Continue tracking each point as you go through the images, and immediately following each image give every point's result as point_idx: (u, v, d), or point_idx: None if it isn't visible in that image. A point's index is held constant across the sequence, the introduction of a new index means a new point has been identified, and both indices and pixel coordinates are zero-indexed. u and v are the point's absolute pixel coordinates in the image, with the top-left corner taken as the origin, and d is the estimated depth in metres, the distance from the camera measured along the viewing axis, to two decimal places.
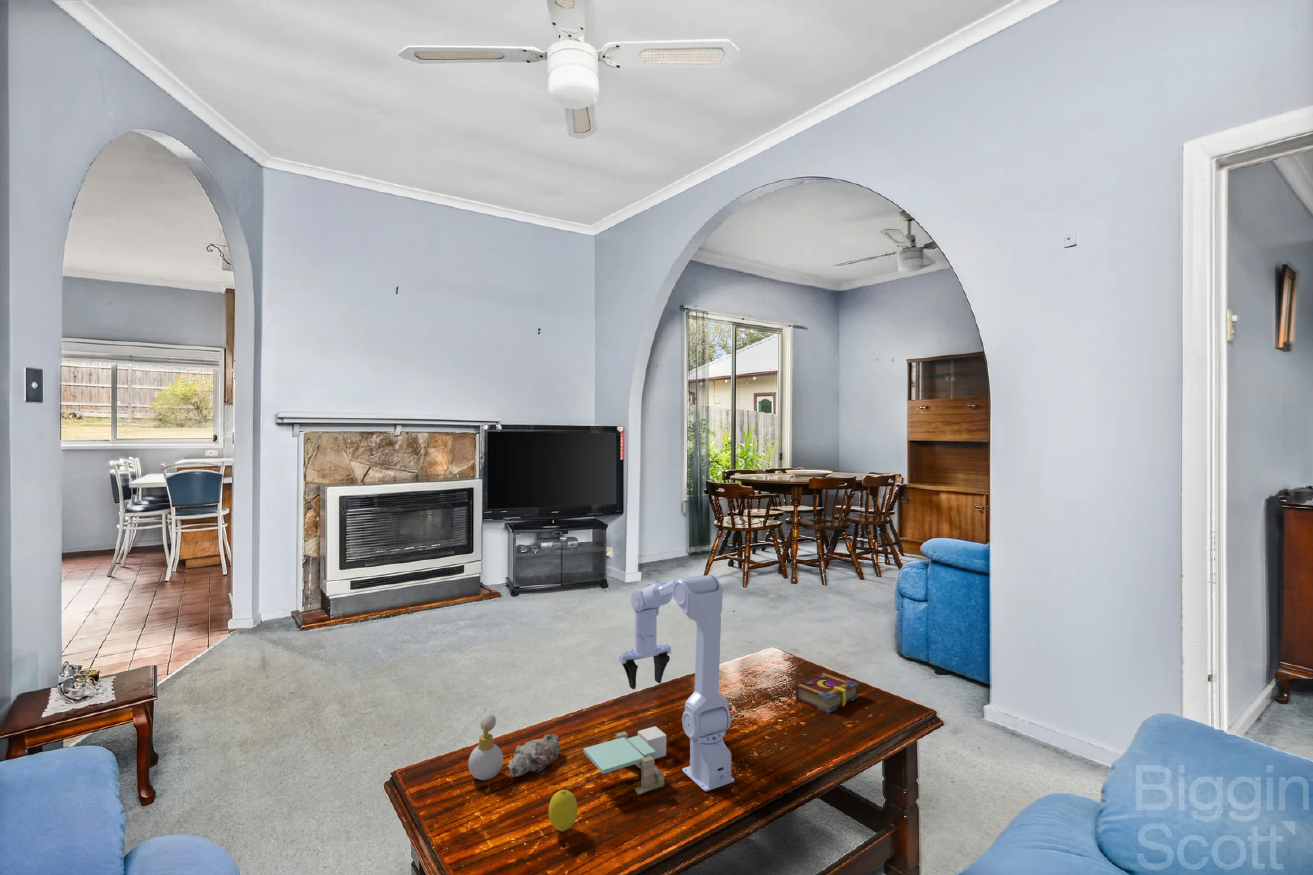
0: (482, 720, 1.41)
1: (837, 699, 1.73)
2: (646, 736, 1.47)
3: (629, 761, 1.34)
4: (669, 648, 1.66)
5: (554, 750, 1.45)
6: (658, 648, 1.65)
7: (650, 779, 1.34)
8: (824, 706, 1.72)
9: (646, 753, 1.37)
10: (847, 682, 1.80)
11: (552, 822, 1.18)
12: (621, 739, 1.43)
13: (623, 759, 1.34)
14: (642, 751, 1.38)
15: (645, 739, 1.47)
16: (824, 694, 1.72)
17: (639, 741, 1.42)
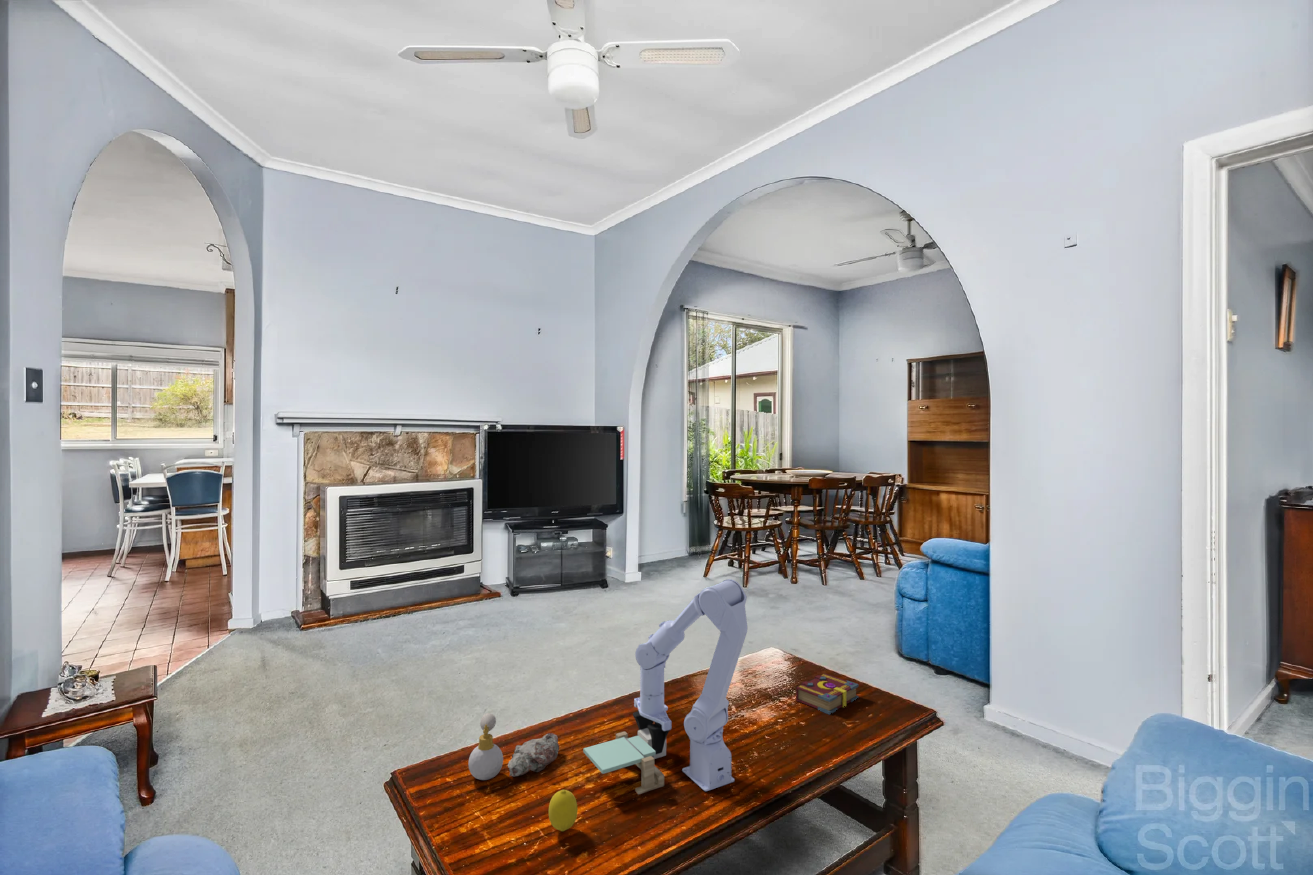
0: (482, 720, 1.41)
1: (837, 701, 1.73)
2: (646, 735, 1.47)
3: (629, 761, 1.34)
4: (662, 724, 1.42)
5: (554, 749, 1.45)
6: (659, 716, 1.45)
7: (650, 779, 1.34)
8: (824, 707, 1.71)
9: (646, 753, 1.37)
10: (847, 683, 1.80)
11: (552, 822, 1.18)
12: (621, 739, 1.43)
13: (623, 759, 1.34)
14: (642, 751, 1.38)
15: (645, 739, 1.47)
16: (824, 695, 1.71)
17: (639, 741, 1.42)
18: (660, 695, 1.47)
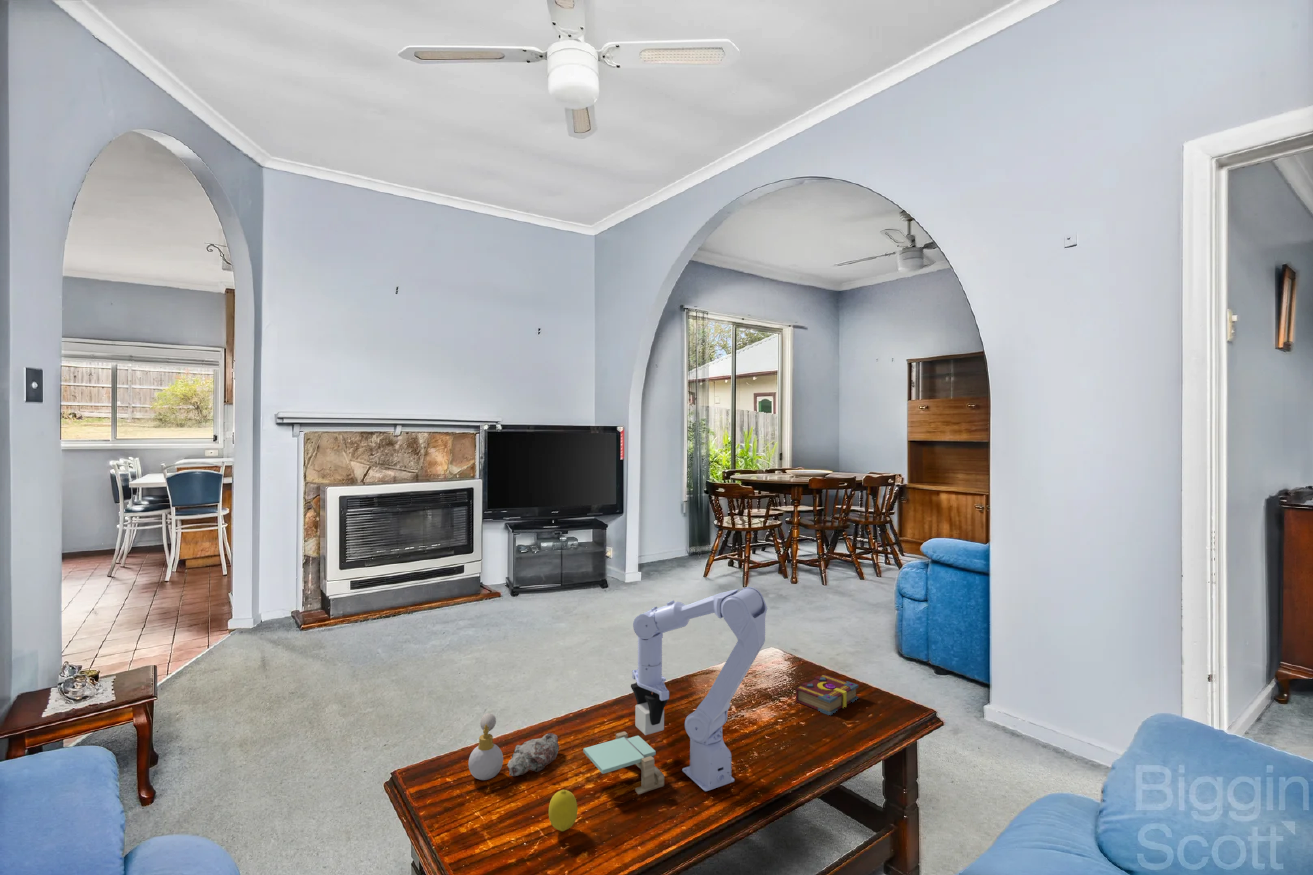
0: (482, 720, 1.41)
1: (837, 701, 1.72)
2: (643, 710, 1.46)
3: (629, 761, 1.34)
4: (660, 693, 1.41)
5: (553, 749, 1.45)
6: (657, 687, 1.44)
7: (650, 779, 1.34)
8: (825, 708, 1.70)
9: (646, 753, 1.37)
10: (847, 684, 1.79)
11: (552, 822, 1.18)
12: (621, 739, 1.43)
13: (623, 759, 1.34)
14: (642, 751, 1.38)
15: (643, 713, 1.45)
16: (825, 696, 1.71)
17: (639, 741, 1.42)
18: (658, 665, 1.45)
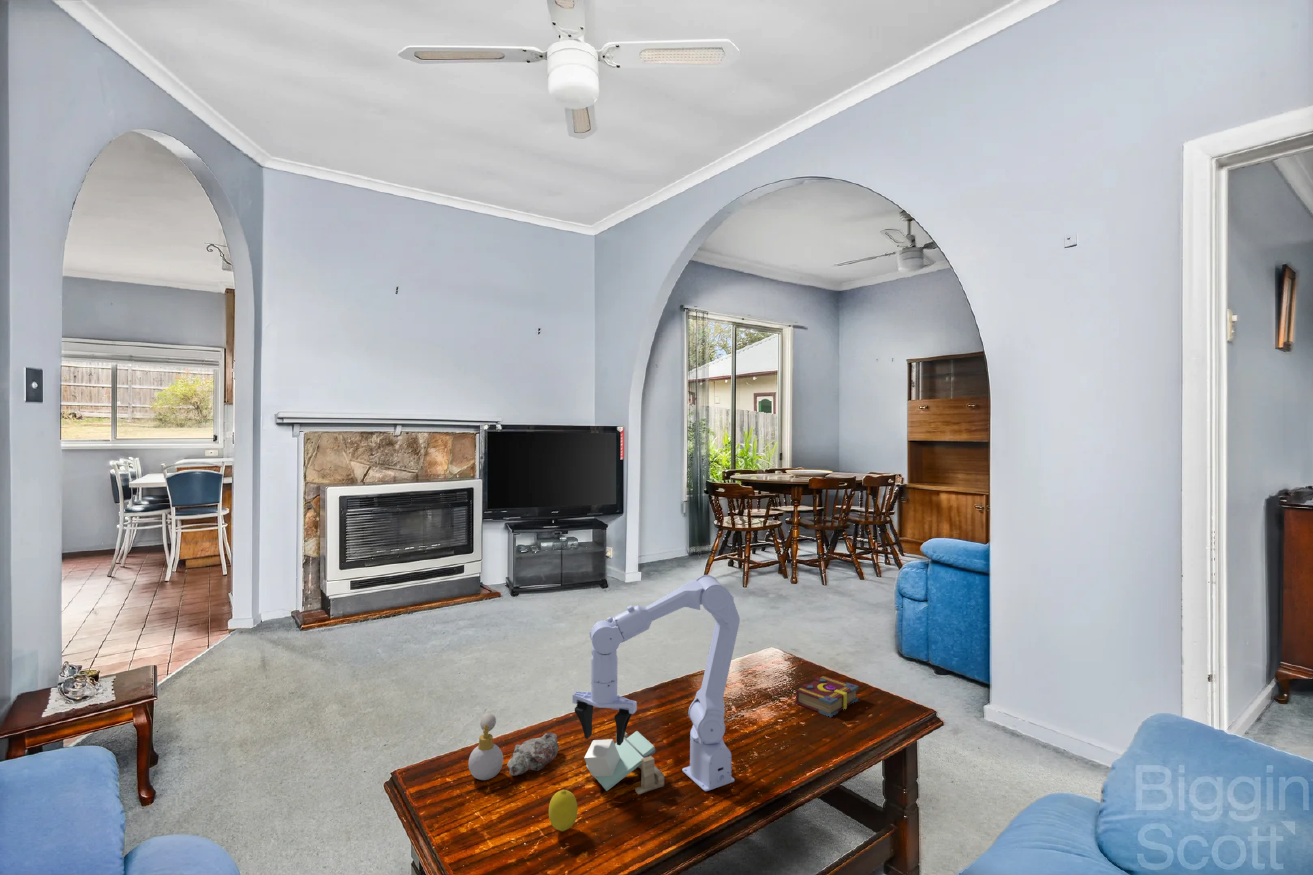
0: (482, 720, 1.41)
1: (838, 703, 1.71)
2: (597, 754, 1.33)
3: (629, 767, 1.34)
4: (631, 707, 1.32)
5: (553, 749, 1.46)
6: (620, 702, 1.34)
7: (650, 779, 1.34)
8: (825, 710, 1.69)
9: (645, 752, 1.37)
10: (847, 685, 1.78)
11: (552, 822, 1.18)
12: None
13: (624, 766, 1.35)
14: (641, 750, 1.38)
15: (599, 758, 1.33)
16: (825, 698, 1.70)
17: (637, 738, 1.42)
18: None
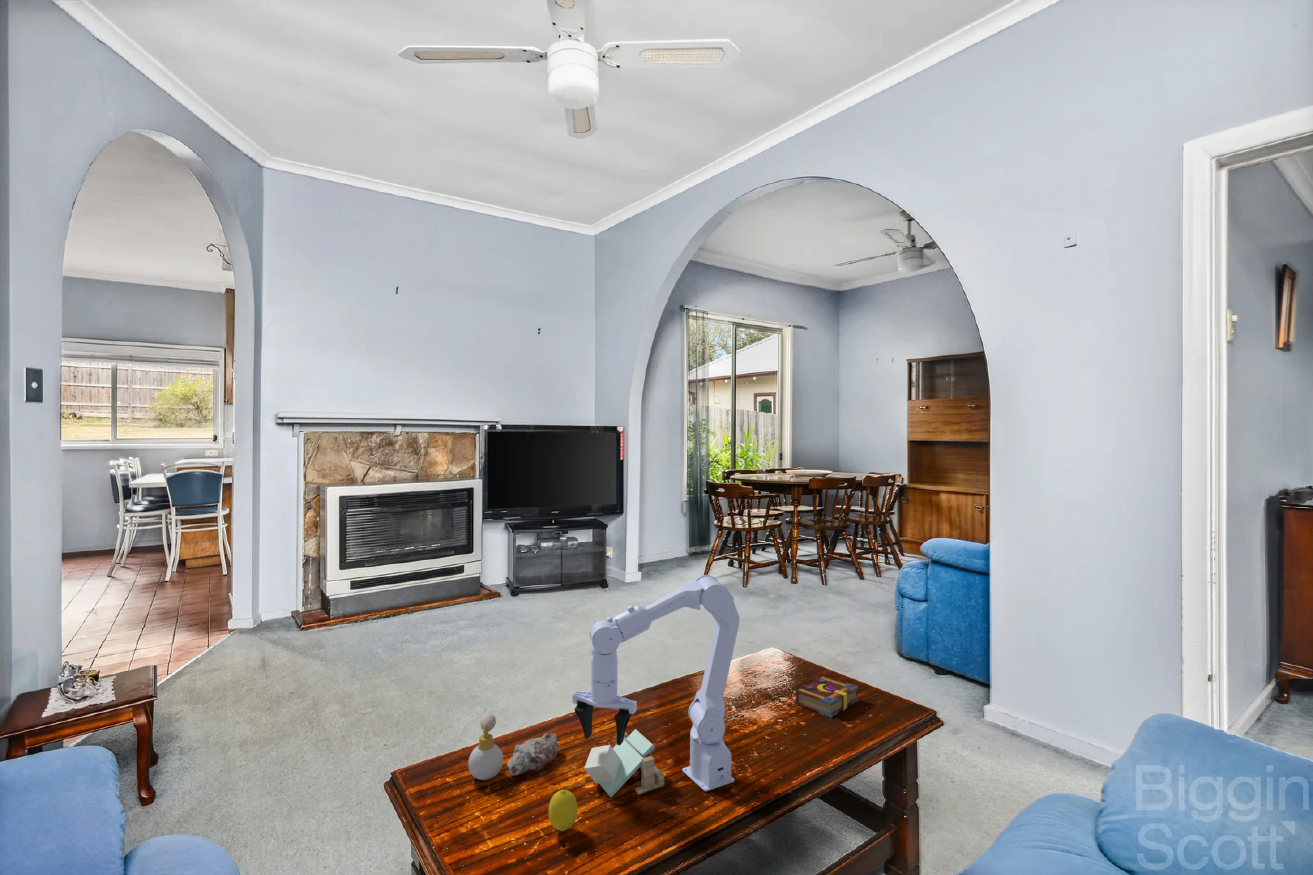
0: (482, 720, 1.41)
1: (838, 704, 1.71)
2: (596, 763, 1.33)
3: (630, 770, 1.34)
4: (631, 707, 1.32)
5: (553, 749, 1.46)
6: (620, 702, 1.34)
7: (650, 779, 1.34)
8: (826, 711, 1.69)
9: (645, 751, 1.37)
10: (847, 686, 1.78)
11: (552, 822, 1.18)
12: None
13: (625, 770, 1.35)
14: (641, 750, 1.37)
15: (599, 767, 1.33)
16: (825, 698, 1.69)
17: (636, 737, 1.41)
18: None
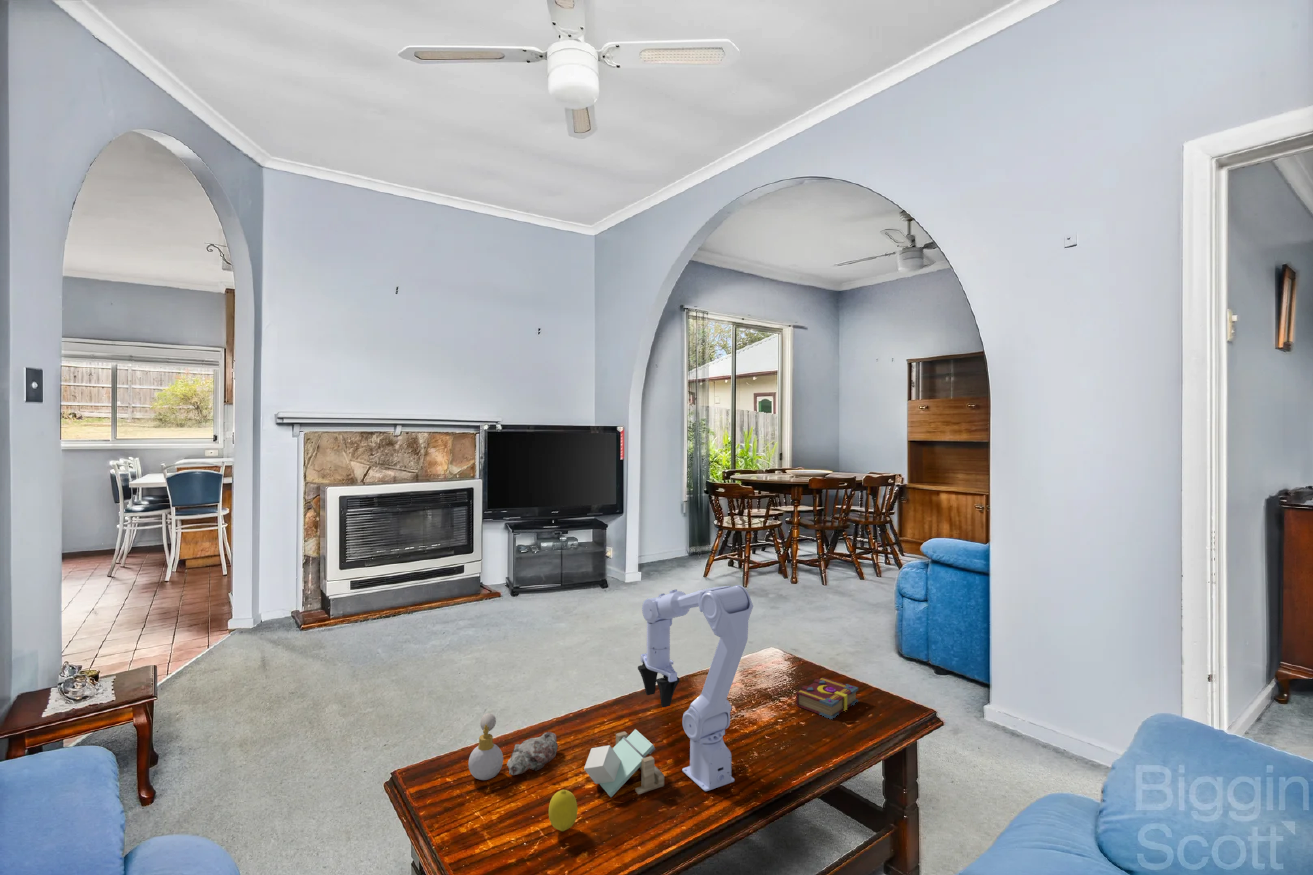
0: (482, 720, 1.41)
1: (838, 705, 1.70)
2: (596, 764, 1.33)
3: (630, 770, 1.34)
4: (668, 675, 1.48)
5: (553, 748, 1.46)
6: (665, 669, 1.51)
7: (650, 779, 1.34)
8: (826, 712, 1.68)
9: (645, 751, 1.37)
10: (847, 687, 1.77)
11: (552, 822, 1.18)
12: (621, 742, 1.43)
13: (625, 770, 1.35)
14: (641, 750, 1.37)
15: (599, 767, 1.33)
16: (826, 700, 1.69)
17: (636, 737, 1.41)
18: (666, 649, 1.52)
